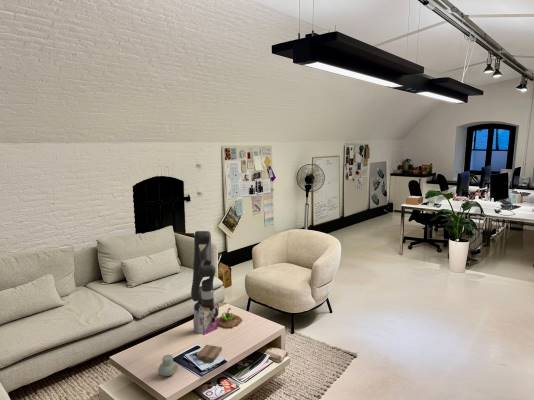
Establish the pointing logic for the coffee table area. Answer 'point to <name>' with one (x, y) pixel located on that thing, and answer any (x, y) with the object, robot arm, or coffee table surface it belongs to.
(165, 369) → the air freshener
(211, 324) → the candy bar box
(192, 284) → the robot arm
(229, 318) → the plant
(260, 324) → the coffee table surface
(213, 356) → the walnut plinth
